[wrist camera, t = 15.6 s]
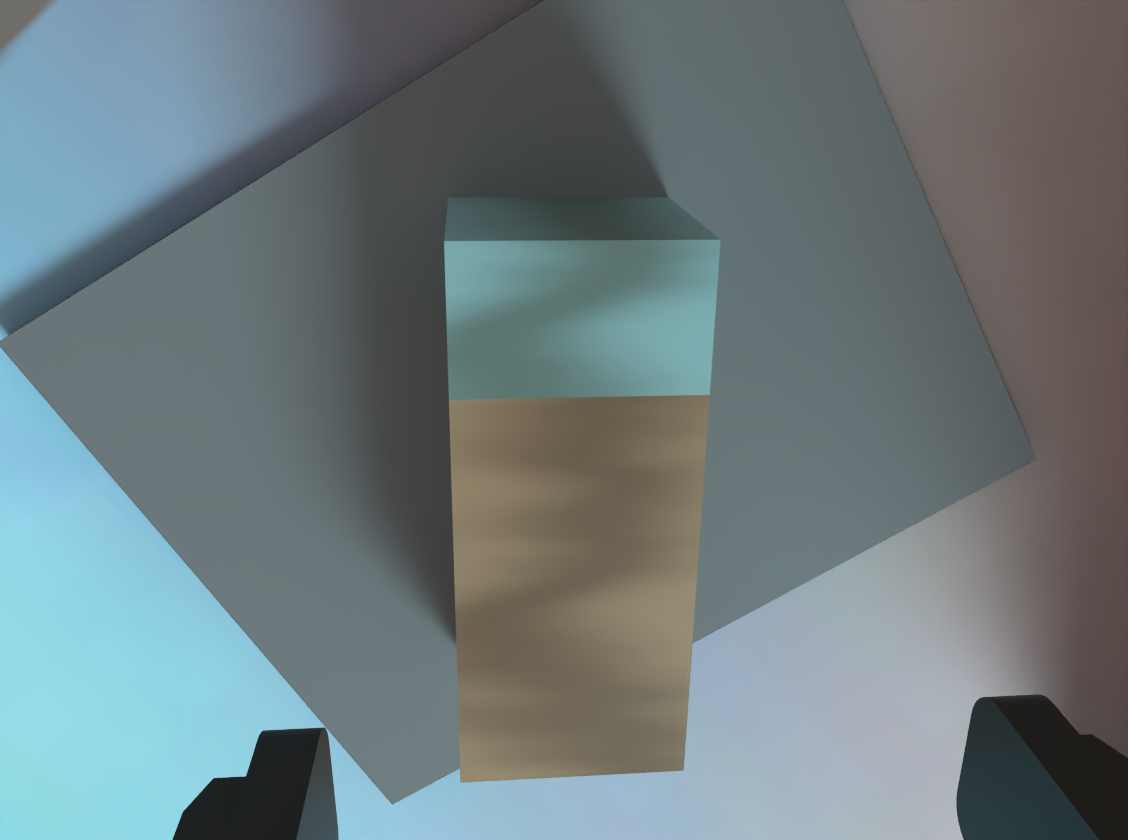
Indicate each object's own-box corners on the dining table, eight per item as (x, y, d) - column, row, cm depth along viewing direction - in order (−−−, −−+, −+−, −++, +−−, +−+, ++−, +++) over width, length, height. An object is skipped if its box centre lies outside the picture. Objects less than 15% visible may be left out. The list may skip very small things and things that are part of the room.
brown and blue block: (460, 782, 22) (444, 241, 18) (461, 651, 27) (448, 197, 22) (683, 770, 23) (720, 239, 18) (646, 644, 27) (668, 197, 23)
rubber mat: (771, -143, 21) (779, -148, 20) (1024, 449, 27) (1036, 458, 26) (8, 335, 23) (-3, 343, 23) (393, 789, 29) (392, 804, 28)
